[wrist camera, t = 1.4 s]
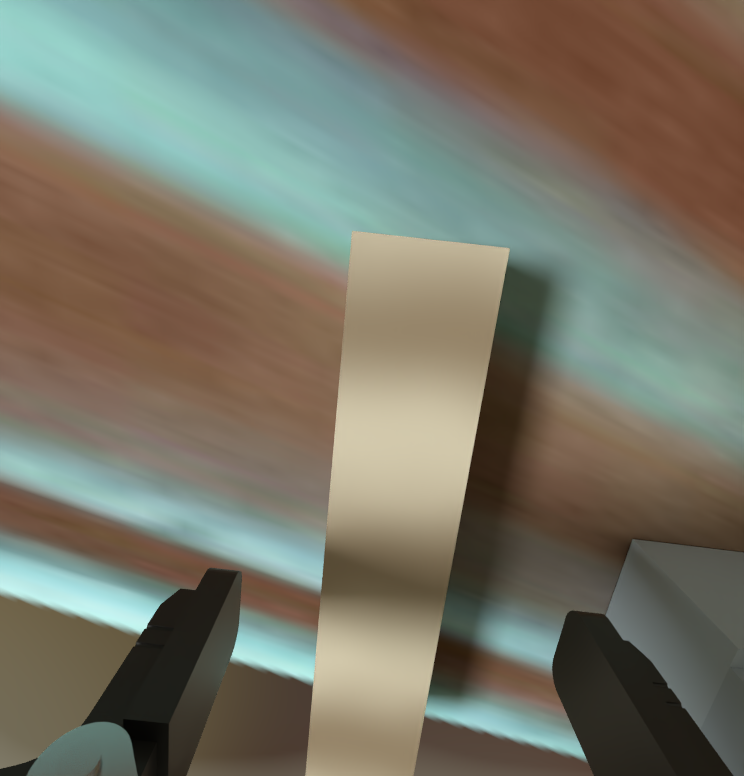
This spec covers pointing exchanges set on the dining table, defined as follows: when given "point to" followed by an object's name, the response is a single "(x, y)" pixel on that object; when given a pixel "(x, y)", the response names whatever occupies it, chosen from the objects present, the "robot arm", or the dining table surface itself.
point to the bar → (397, 490)
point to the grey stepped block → (690, 632)
